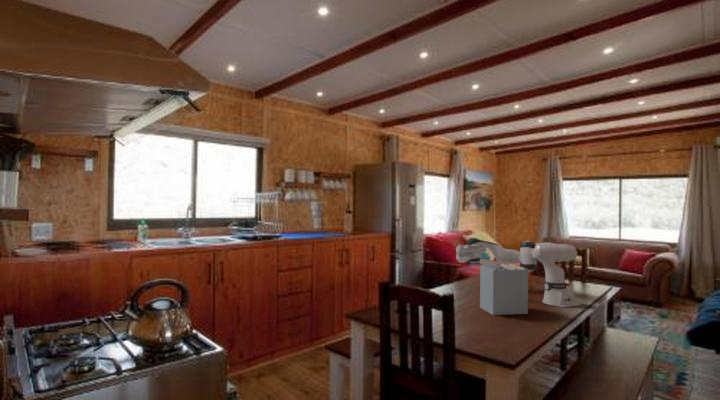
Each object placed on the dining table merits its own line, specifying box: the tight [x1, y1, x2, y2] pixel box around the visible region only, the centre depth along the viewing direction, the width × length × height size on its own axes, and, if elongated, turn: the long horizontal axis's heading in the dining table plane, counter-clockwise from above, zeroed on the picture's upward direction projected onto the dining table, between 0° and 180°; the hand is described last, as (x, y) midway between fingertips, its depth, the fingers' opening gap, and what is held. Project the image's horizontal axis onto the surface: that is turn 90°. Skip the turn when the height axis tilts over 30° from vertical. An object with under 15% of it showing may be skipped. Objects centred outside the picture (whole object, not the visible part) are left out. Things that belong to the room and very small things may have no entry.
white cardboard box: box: [479, 263, 529, 316], centre depth 227 cm, size 22×16×27 cm
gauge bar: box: [479, 258, 501, 269], centre depth 232 cm, size 3×20×3 cm, turn 9°
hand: (475, 245), depth 257 cm, fingers open, 8 cm apart
